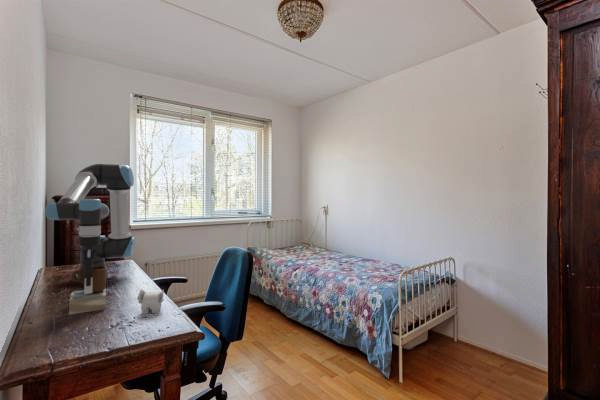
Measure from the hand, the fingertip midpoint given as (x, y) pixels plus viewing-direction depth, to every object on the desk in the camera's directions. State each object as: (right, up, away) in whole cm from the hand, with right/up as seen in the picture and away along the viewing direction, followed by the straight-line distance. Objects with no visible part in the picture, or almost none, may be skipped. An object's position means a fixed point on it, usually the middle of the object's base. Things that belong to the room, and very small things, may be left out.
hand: (88, 290), depth 126 cm
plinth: (0, -7, 0) cm, 7 cm away
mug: (0, -1, 0) cm, 1 cm away
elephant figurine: (+28, -8, -2) cm, 29 cm away
